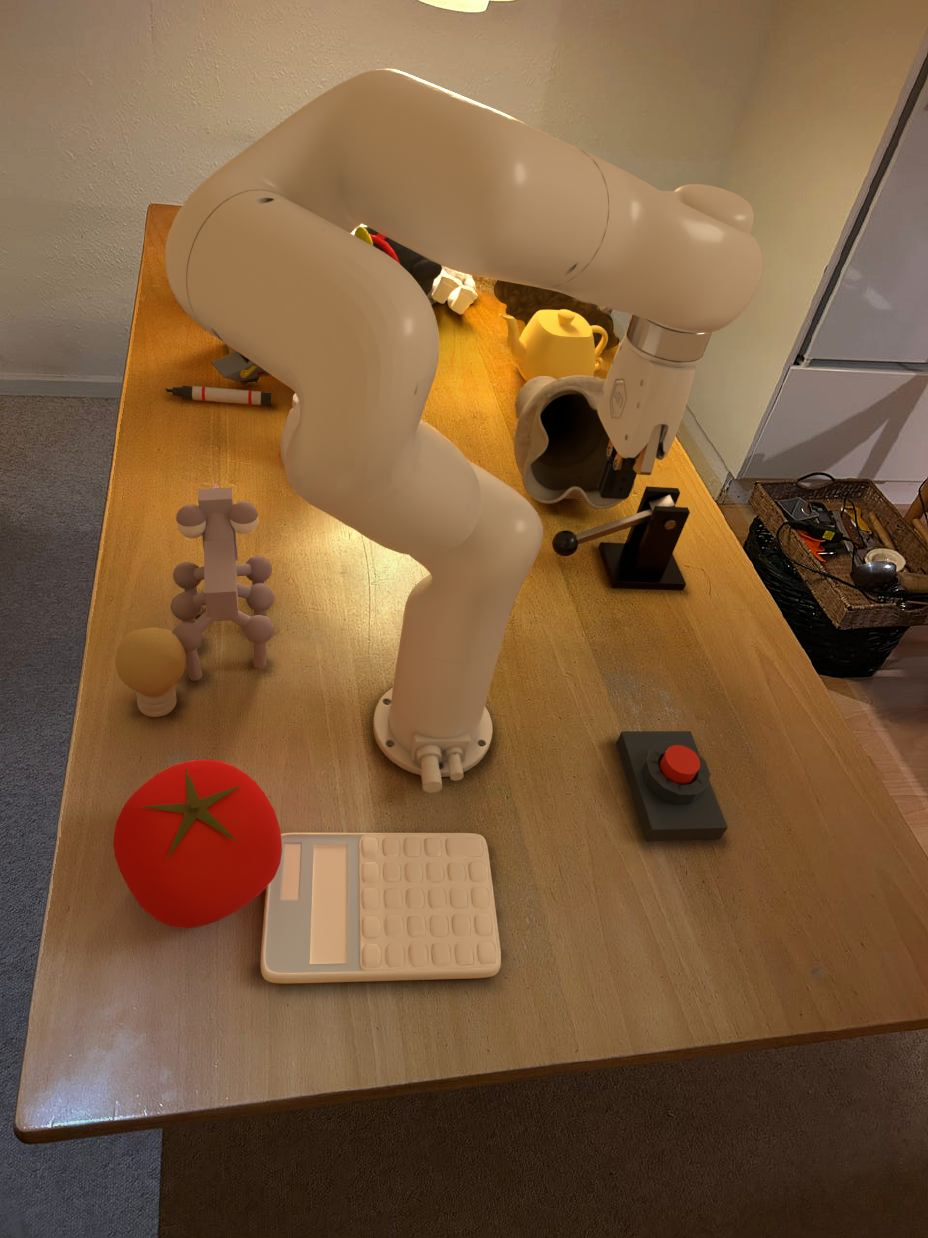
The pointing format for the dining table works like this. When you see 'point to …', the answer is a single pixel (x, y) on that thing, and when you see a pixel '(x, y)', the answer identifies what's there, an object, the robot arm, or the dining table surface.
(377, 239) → the toy
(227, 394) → the marker
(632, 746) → the button box
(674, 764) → the button
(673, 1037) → the dining table surface
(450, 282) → the figure
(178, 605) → the toy insect
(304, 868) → the calculator
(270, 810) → the tomato
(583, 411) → the vase
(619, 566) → the bracket
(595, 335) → the figurine
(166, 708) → the light bulb
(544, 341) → the teapot
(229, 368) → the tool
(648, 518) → the lever
